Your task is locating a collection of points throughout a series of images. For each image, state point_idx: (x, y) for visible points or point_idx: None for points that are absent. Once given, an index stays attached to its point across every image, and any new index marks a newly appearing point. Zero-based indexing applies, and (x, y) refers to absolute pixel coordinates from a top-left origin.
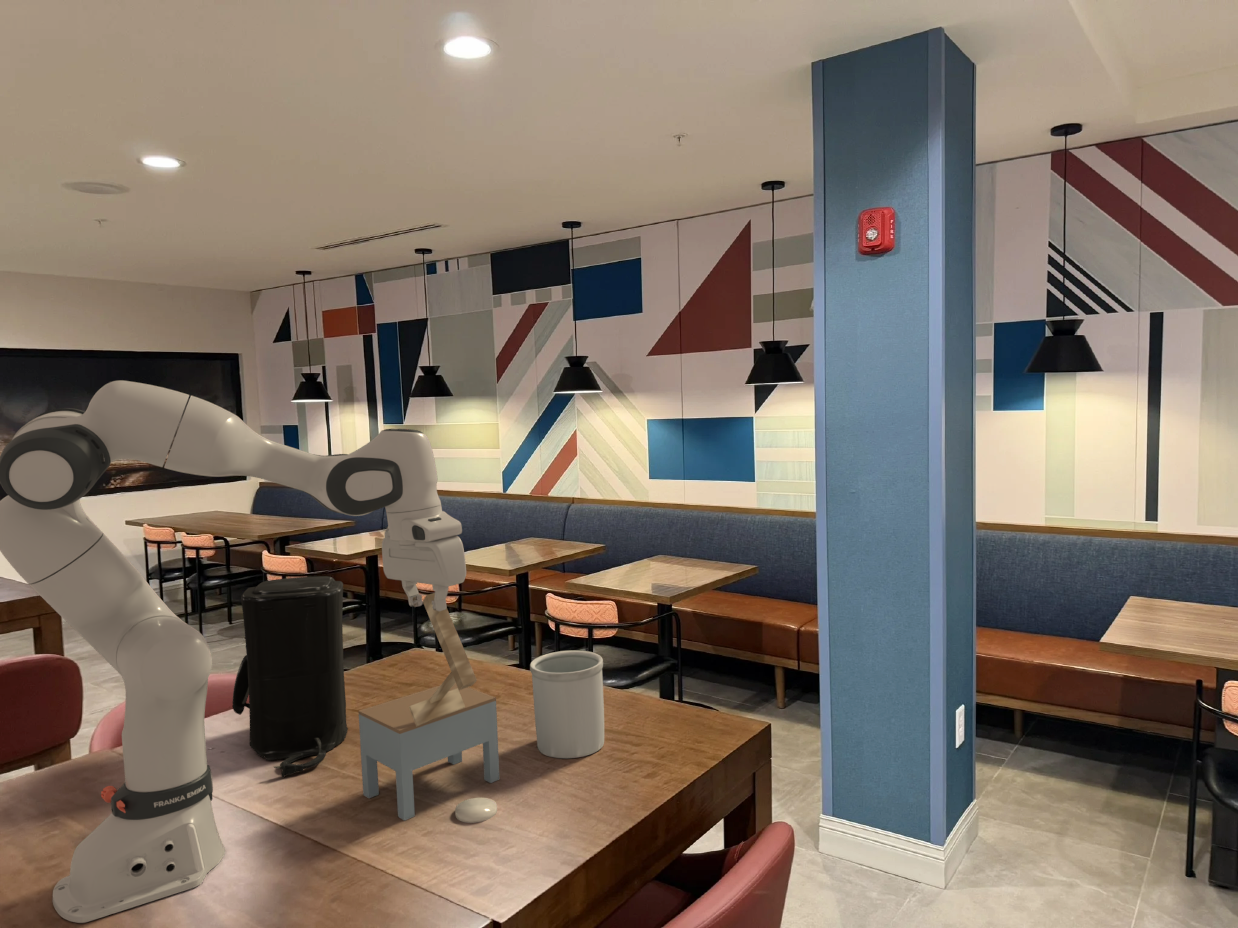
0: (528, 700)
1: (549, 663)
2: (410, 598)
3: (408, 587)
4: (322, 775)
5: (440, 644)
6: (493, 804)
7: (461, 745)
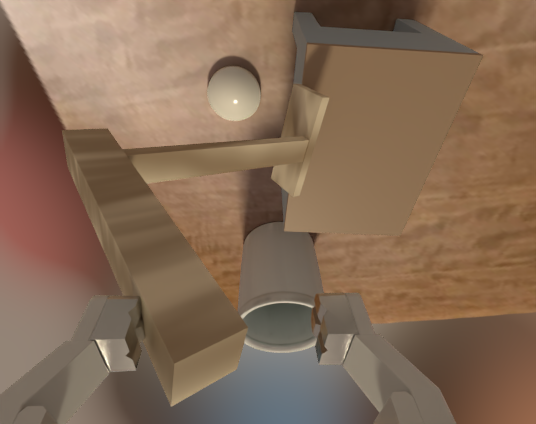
0: (394, 284)
1: None
2: (348, 325)
3: (394, 389)
4: (530, 15)
5: (152, 195)
6: (223, 113)
7: None
